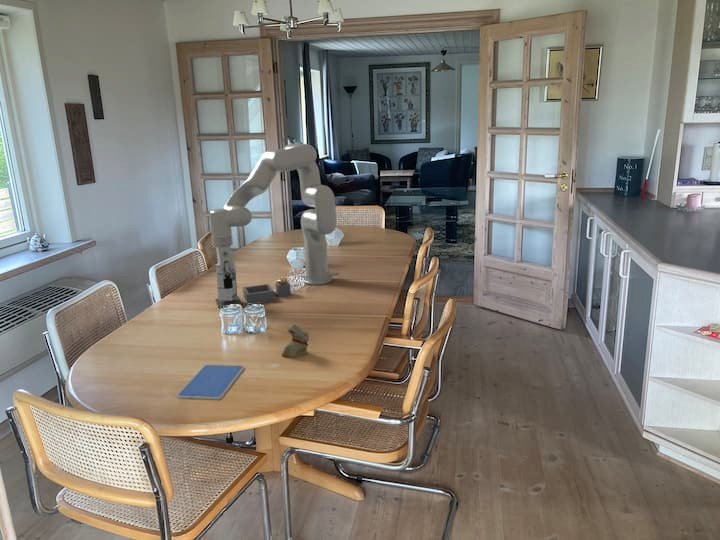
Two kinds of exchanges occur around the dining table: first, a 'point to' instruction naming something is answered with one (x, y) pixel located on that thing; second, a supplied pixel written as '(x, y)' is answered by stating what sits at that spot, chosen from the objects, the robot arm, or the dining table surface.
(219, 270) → the syrup box
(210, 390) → the tablet computer
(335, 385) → the dining table surface
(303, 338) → the chocolate bunny
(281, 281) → the plunger
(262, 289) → the housing
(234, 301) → the mat
